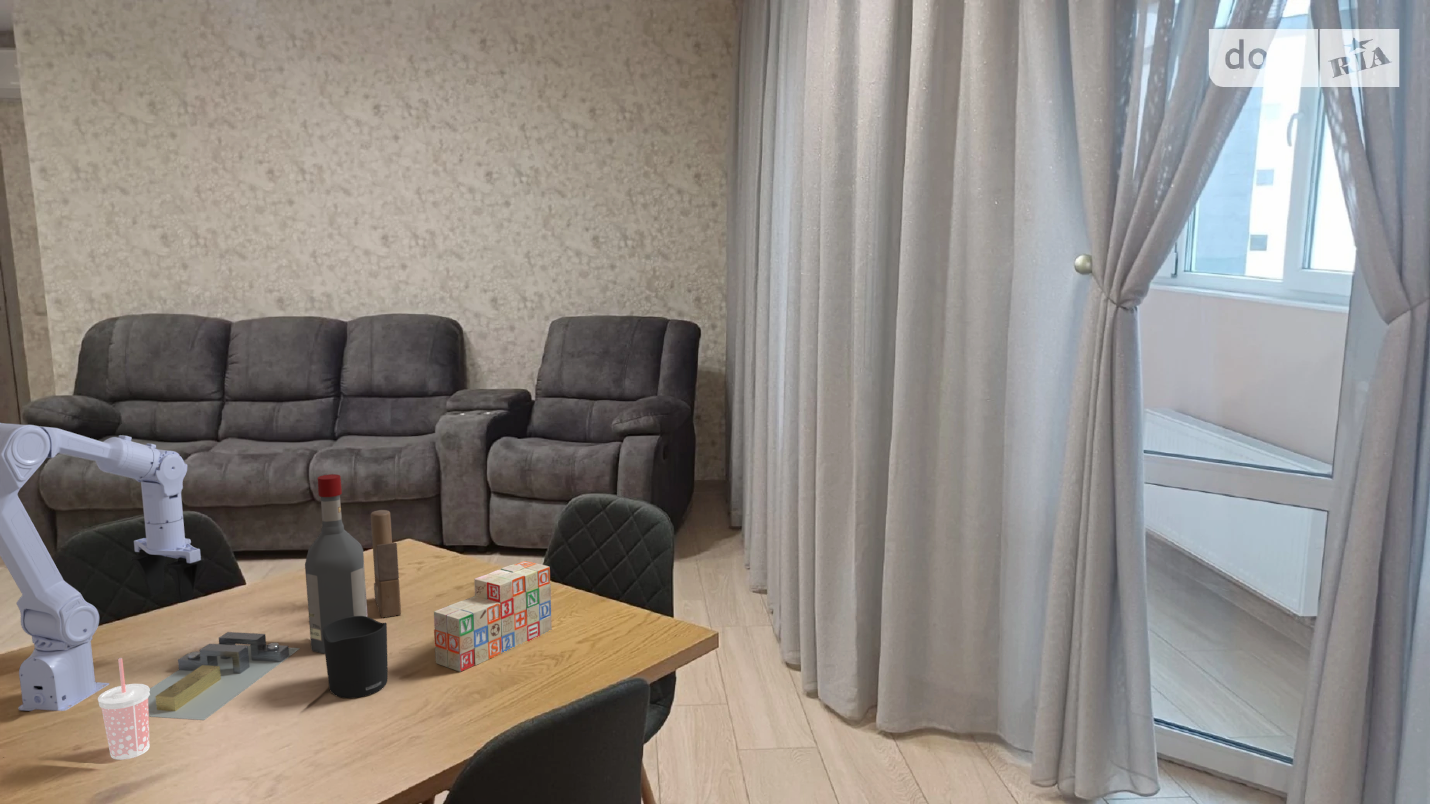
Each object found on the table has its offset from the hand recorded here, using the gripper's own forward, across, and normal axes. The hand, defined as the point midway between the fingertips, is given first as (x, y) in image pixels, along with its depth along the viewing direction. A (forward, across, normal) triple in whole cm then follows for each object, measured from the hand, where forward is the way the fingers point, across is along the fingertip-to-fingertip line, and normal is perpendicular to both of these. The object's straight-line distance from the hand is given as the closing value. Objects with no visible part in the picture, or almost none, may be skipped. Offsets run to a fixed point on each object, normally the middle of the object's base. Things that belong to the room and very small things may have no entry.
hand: (171, 596), depth 172 cm
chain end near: (+9, -14, +3) cm, 17 cm away
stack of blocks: (+10, -48, -26) cm, 56 cm away
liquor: (+10, -24, -14) cm, 29 cm away
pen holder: (+10, -39, -4) cm, 41 cm away
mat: (+10, -17, +6) cm, 20 cm away
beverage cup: (+10, -27, +26) cm, 39 cm away
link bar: (+9, -19, +11) cm, 24 cm away
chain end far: (+9, -16, -3) cm, 19 cm away
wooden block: (+10, -18, -31) cm, 37 cm away
